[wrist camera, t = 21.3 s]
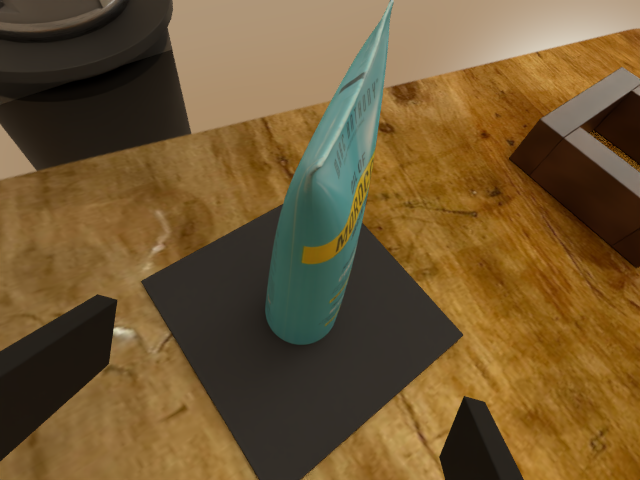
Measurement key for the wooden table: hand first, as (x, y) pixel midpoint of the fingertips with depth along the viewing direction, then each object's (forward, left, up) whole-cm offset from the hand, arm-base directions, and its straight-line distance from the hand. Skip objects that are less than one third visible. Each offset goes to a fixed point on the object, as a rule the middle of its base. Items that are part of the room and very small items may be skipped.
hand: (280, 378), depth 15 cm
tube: (-4, +5, -11) cm, 13 cm away
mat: (-4, +5, -11) cm, 13 cm away
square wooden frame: (+2, +37, -11) cm, 39 cm away
